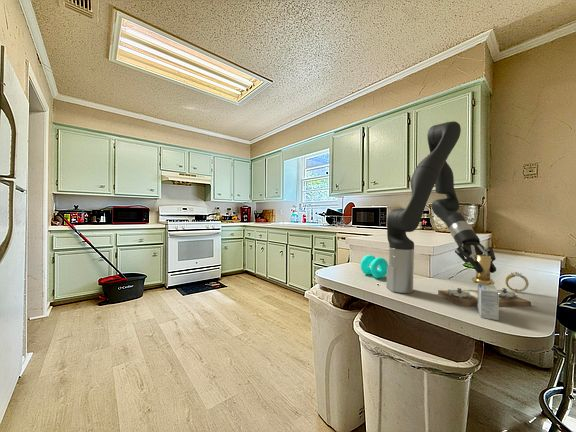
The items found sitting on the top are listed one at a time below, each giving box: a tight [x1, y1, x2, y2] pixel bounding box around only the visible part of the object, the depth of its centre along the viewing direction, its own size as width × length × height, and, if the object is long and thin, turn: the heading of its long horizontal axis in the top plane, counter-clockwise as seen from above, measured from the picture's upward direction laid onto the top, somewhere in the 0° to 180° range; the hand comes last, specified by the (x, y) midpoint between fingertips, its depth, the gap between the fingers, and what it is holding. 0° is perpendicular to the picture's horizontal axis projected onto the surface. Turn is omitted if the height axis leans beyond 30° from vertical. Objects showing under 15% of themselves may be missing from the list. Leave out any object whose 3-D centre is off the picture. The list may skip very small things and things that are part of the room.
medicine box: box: [477, 283, 500, 321], centre depth 78 cm, size 8×4×9 cm, turn 148°
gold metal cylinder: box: [471, 254, 495, 286], centre depth 91 cm, size 7×6×10 cm
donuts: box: [360, 254, 389, 279], centre depth 123 cm, size 10×10×10 cm
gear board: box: [437, 289, 532, 307], centre depth 92 cm, size 25×12×2 cm, turn 92°
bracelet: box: [504, 271, 530, 293], centre depth 101 cm, size 7×3×8 cm, turn 56°
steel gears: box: [448, 287, 519, 299], centre depth 92 cm, size 24×7×3 cm, turn 92°
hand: (487, 271), depth 90 cm, fingers closed on gold metal cylinder, 4 cm apart
